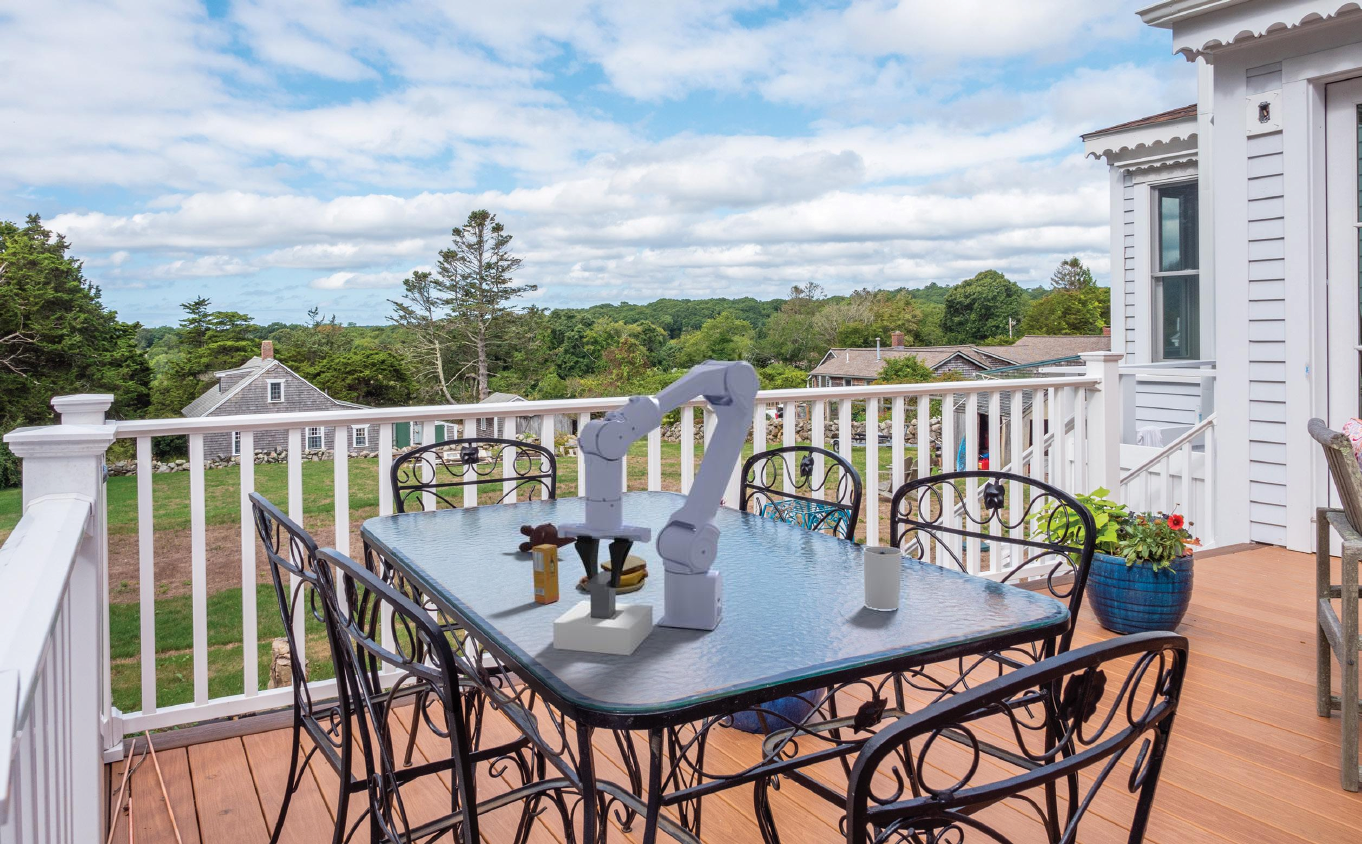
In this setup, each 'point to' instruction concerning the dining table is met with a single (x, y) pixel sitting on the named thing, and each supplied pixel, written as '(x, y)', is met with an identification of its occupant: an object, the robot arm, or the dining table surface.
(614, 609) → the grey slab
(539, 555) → the supplement box
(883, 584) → the drinking glass
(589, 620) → the well block
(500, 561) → the dining table surface
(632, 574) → the toy sandwich meal
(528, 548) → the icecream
